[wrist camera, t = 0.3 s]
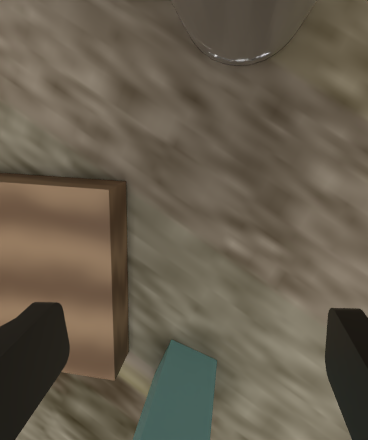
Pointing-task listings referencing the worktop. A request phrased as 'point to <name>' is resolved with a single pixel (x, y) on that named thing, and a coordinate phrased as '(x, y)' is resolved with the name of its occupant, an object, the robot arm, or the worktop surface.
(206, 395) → the teal pillar
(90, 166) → the worktop surface
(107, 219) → the walnut base
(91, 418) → the worktop surface
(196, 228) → the worktop surface
